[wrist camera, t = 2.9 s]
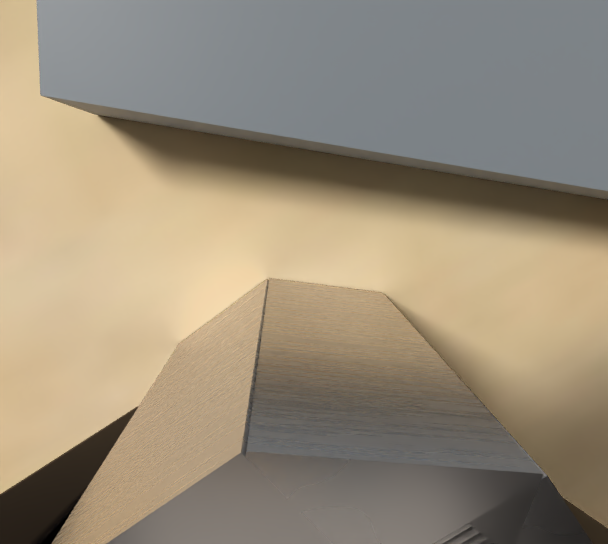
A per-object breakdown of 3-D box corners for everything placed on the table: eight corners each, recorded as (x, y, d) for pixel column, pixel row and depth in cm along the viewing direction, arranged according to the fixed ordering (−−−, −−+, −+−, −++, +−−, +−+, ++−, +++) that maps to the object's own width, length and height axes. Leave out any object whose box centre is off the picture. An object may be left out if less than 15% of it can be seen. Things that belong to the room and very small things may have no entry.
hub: (399, 514, 10) (518, 851, 5) (167, 500, 9) (34, 872, 4) (459, 302, 8) (730, 488, 3) (182, 267, 7) (-9, 430, 3)
